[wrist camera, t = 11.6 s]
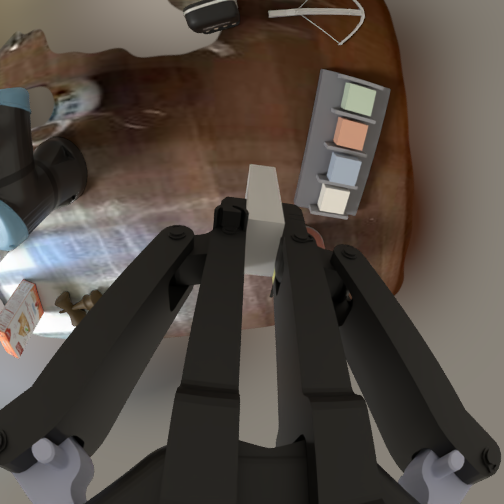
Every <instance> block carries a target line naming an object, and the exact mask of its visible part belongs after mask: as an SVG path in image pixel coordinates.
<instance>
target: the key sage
mask: <svg viewBox="0 0 504 504" xmlns="http://www.w3.org/2000/svg"><path fill="white" fill-rule="evenodd" d="M375 95H376V91H374V90H371V89H368V88H365V87H362V86H358V85H355V84H351V83H346V84H345V89H344V94H343V98H342V103H341V108H343V109H345V110H349V111H353V112H357V113H360V114H364V115H367V116H371V113H372V109H373V104H374V100H375Z"/></svg>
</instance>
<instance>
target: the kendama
mask: <svg viewBox="0 0 504 504" xmlns="http://www.w3.org/2000/svg"><path fill="white" fill-rule="evenodd" d="M101 296H102V294H101V293H100V292H99V291H98V290H94V291H92V293H91V295H84V296H83V299H82V300H81V301H80V302H78V303H77V304H75V305H73V304H72V302H71V300H70V296H69V293H68V292H64V293H62V294H61V295H60V296H59V297H58V298H57V300H56V301H55V305H56V306H57V307H60V308H62V309H64V310H62V311H60V312H59V313H65V312H67V313H68V314H69V316H70V318H71V322H72V325H73V326H77V325H78V324H79V323H80V322H81V320H82V319H83V318H84V317H85V315H86V312H85V311H83V310H80V309H87V310H89V311H90V309H91V308H92V307H93V306H94V305H95V303H96V302H97V301H98V300H99V299H100V298H101Z"/></svg>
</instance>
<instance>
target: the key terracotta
mask: <svg viewBox="0 0 504 504" xmlns="http://www.w3.org/2000/svg"><path fill="white" fill-rule="evenodd" d="M367 129H368V125H366V124H364V123H362V122H359V121H355V120H351V119H347V118H343V117H338V122H337V126H336V130H335V135H334V139H333V141H334V142H335V143H336V144H337V145H340V146H344V147H348V148H353V149H357V150H361V151H362V149H363V145H364V141H365V137H366V133H367Z"/></svg>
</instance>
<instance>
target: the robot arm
mask: <svg viewBox="0 0 504 504" xmlns="http://www.w3.org/2000/svg"><path fill="white" fill-rule="evenodd" d="M30 114H31V109H30V104H29V93H28V91H27V90H26V89H24V88H20V87H18V88H7V89H0V250H3V251H10V250H13V249H15V248H16V247H17V246H18V245H19V244H20V243H22V242H23V241H24V240H26V239H27V237H28V235H29V234H30V233H31V232H32V231H33V230H34V229H35V228H36V227H37V226H38V225H39V224H40V223H41V222H42V221H43V220H44V219H45V218H46V217H47V216H48V215H49V214H50V213H51V212H52V211H53V210H56V209H58V208H61V207H64V206H67V205H70V204H71V203H73V202H74V201H75V200H76V199H77V198H78V197H79V196H80V195H81V194H82V193H83V191H84V189H85V186H86V182H87V168H86V164H85V161H84V158H83V156H82V154H81V152H80V151H79V149H78V148H77V147H76V146H75V145H74V144H73V143H72V142H71V141H69V140H67V139H65V138H61V137H54V138H50V139H48V140H46V141H44V142H43V143H41V144H40V145H39V146H38V147H37V148H36V149H35V150H34V152H33V146H32V136H31V123H30ZM274 269H275V278H274V282H273V286H272V290H271V294H270V297H273V296H274V316H275V337H276V359H277V385H278V415H279V430H278V435H277V439H276V447H275V448H265V447H261V446H257V445H254V444H250V443H247V442H243V441H240V440H239V414H240V395H239V366H240V346H241V325H242V305H243V285H244V274H251V275H260V276H270V277H273V273H274ZM196 284H200V288H199V293H198V298H197V302H196V307H195V312H194V317H193V322H192V327H191V332H190V337H189V342H188V348H187V353H186V358H185V364H184V369H183V375H182V380H181V384H180V386H179V387H178V388H177V391H176V394H175V399H174V405H173V410H172V416H171V422H170V429H169V435H168V442H167V445H166V446H163V447H161V448H159V449H157V450H155V451H154V452H152V453H150V454H149V455H148V456H146V457H145V458H144V459H143V460H141V461H140V462H139V463H138V464H136V465H135V466H134V467H133V468H131V469H130V470H129V471H128V472H126V473H125V474H124V475H123V476H121V477H120V478H119V479H117V480H116V481H115V482H113V483H112V484H111V485H109V486H108V487H107V488H105V489H104V490H102V491H101V492H100V493H99V494H97V495H96V496H94V497H93V498H91V499H90V500H89V501H87V500H86V489H87V486H88V485H89V483H90V482H91V480H92V479H93V476H94V465H93V463H92V460H91V458H90V457H91V456H92V455H93V454H94V453H95V451H96V450H97V449H98V448H99V447H100V445H101V444H102V443H103V441H104V440H105V438H106V437H107V435H108V433H109V432H110V430H111V428H112V426H113V424H114V423H115V421H116V419H117V417H118V415H119V413H120V412H121V410H122V408H123V406H124V405H125V403H126V401H127V399H128V398H129V396H130V394H131V392H132V390H133V389H134V387H135V385H136V383H137V382H138V380H139V378H140V376H141V375H142V373H143V371H144V369H145V368H146V366H147V364H148V363H149V361H150V359H151V358H152V356H153V354H154V352H155V351H156V349H157V347H158V346H159V344H160V342H161V340H162V339H163V337H164V336H165V334H166V332H167V330H168V329H169V327H170V325H171V324H172V322H173V320H174V319H175V317H176V316H177V314H178V312H179V311H180V309H181V307H182V306H183V304H184V302H185V301H186V299H187V297H188V296H189V294H190V293H191V291H192V289H193V286H194V285H196ZM349 292H350V294H351V296H352V300H351V299H350V298H349V296H348V294H349ZM346 360H347V362H348V364H349V366H350V368H351V370H352V373H353V375H354V377H355V379H356V381H357V383H358V385H359V387H360V389H361V392H362V394H363V396H364V398H365V400H366V402H367V405H368V407H369V409H370V411H371V413H372V415H373V418H374V420H375V422H376V424H377V427H378V429H379V431H380V433H381V435H382V438H383V440H384V442H385V444H386V447H387V448H388V450H389V453H390V455H391V456H392V457H393V459H394V461H395V462H396V464H397V465H398V467H399V468H400V469H401V470H402V471H403V472H404V474H403V476H401V477H400V479H399V481H398V483H397V482H396V481H395V480H394V479H393V478H392V477H391V476H390V475H389V474H388V473H387V472H386V471H385V470H384V469H383V468H382V467H381V466H380V465H379V464H377V461H376V454H375V449H374V442H373V436H372V430H371V425H370V420H369V414H368V409H367V405H366V402H365V400H364V398H363V397H362V396H361V395H357V394H355V393H354V392H353V390H352V387H351V382H350V377H349V372H348V367H347V362H346ZM500 462H501V452H500V448H499V446H498V445H497V443H496V442H495V441H494V440H493V439H492V438H491V436H490V435H489V434H488V433H487V432H486V431H485V430H484V429H483V428H482V427H481V426H480V425H479V424H478V423H477V422H476V420H475V419H474V418H473V417H472V416H471V415H470V414H469V413H468V412H467V411H466V410H465V408H464V407H463V405H462V403H461V401H460V399H459V397H458V396H457V394H456V392H455V390H454V388H453V387H452V385H451V383H450V381H449V380H448V378H447V376H446V375H445V373H444V371H443V370H442V368H441V366H440V365H439V363H438V361H437V360H436V358H435V357H434V355H433V353H432V352H431V350H430V349H429V347H428V346H427V344H426V342H425V341H424V339H423V338H422V336H421V335H420V333H419V332H418V330H417V329H416V327H415V326H414V324H413V323H412V321H411V320H410V318H409V317H408V315H407V314H406V313H405V311H404V310H403V308H402V307H401V305H400V304H399V303H398V301H397V300H396V298H395V297H394V296H393V294H392V293H391V291H390V290H389V289H388V287H387V286H386V285H385V283H384V282H383V280H382V279H381V278H380V276H379V275H378V274H377V272H376V271H375V270H374V268H373V267H372V266H371V265H370V263H369V262H368V261H367V259H366V258H365V257H364V256H363V254H362V253H361V252H360V251H359V250H357V249H356V248H354V247H352V246H350V245H343V244H342V245H337V246H336V247H335V248H334V250H333V252H332V251H329V250H326V249H323V248H321V247H319V246H317V243H316V240H315V238H314V237H313V236H312V235H311V234H309V233H308V232H307V228H306V225H305V221H304V217H303V214H302V210H301V209H300V208H299V207H298V206H297V205H293V204H286V203H281V197H280V191H279V186H278V180H277V174H276V169H275V167H268V166H260V165H253V164H250V167H249V175H248V182H247V189H246V196H245V199H242V198H234V197H226V198H225V199H223V200H222V202H221V205H219V206H217V207H216V208H215V211H214V225H213V230H212V231H211V232H209V233H206V234H201V235H194V232H193V231H192V230H191V229H190V228H188V227H186V226H181V225H173V226H170V227H166V228H165V229H163V230H162V231H161V232H160V233H159V234H158V235H157V236H156V237H155V238H154V239H153V240H152V241H151V242H150V243H149V245H148V246H147V247H146V248H145V249H144V250H143V251H142V252H141V253H140V254H139V255H138V256H137V257H136V258H135V259H134V260H133V262H132V263H131V264H130V265H129V266H128V267H127V268H126V269H125V270H124V271H123V273H122V274H121V275H120V276H119V277H118V278H117V279H116V280H115V281H114V283H113V284H112V285H111V286H110V287H109V288H108V289H107V291H106V292H105V293H104V294H103V295H102V296H101V298H100V299H99V300H98V301H97V302H96V303H95V305H94V306H93V307H92V308H91V309H90V311H89V312H88V313H87V314H86V315H85V317H84V318H83V319H82V320H81V322H80V323H79V324H78V325H77V326H76V328H75V329H74V330H73V331H72V333H71V334H70V335H69V337H68V338H67V339H66V340H65V342H64V343H63V344H62V346H61V347H60V348H59V350H58V351H57V352H56V353H55V355H54V356H53V357H52V359H51V360H50V362H49V363H48V364H47V366H46V367H45V368H44V370H43V371H42V373H41V374H40V375H39V377H38V378H37V380H36V381H35V382H34V384H33V385H32V387H30V388H29V389H28V390H26V391H25V392H24V393H22V394H21V395H20V396H18V397H17V398H16V399H14V400H13V401H12V402H10V403H9V404H8V405H6V406H5V407H4V408H3V409H1V410H0V467H2V468H4V469H6V470H8V471H10V472H11V473H12V474H13V475H14V477H15V478H16V480H17V481H18V483H19V484H20V486H21V487H22V489H23V490H24V492H25V493H26V495H27V496H28V498H29V499H30V500H31V502H32V503H33V504H460V503H461V501H462V500H463V498H464V497H465V495H466V494H467V492H468V490H469V489H470V487H471V486H472V485H473V484H475V483H477V482H479V481H482V480H484V479H486V478H488V477H490V476H492V475H493V474H495V473H496V471H497V470H498V468H499V465H500Z"/></svg>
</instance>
